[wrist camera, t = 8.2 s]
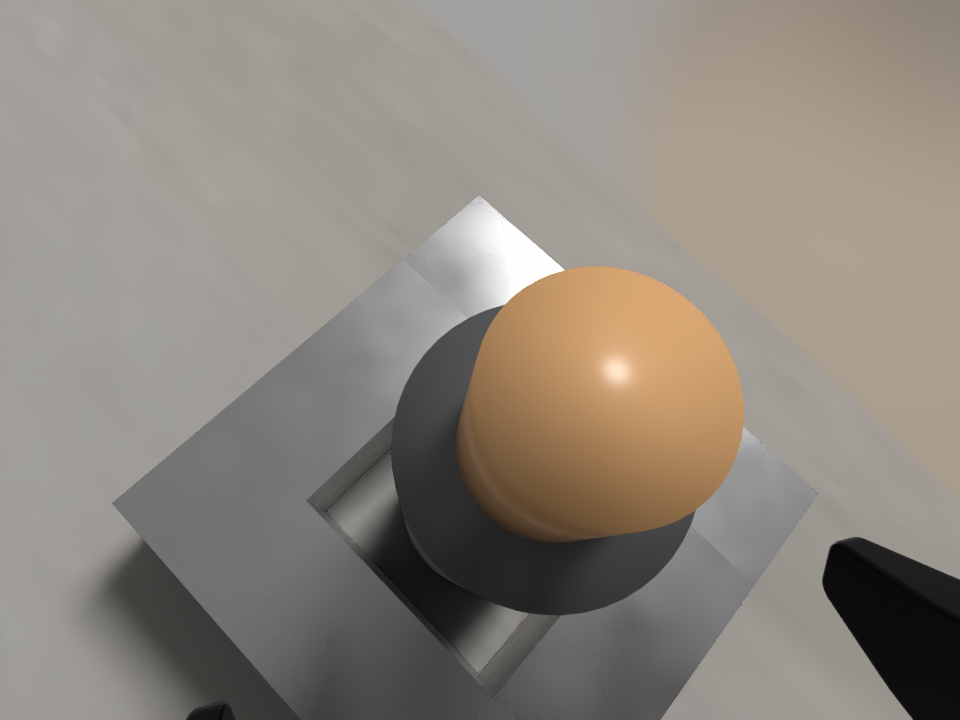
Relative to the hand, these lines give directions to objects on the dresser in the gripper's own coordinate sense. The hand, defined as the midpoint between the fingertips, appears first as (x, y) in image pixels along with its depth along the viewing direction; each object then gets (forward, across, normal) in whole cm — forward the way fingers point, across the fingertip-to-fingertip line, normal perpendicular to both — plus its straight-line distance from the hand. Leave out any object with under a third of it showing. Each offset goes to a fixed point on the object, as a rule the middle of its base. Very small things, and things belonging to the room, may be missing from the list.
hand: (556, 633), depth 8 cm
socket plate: (+8, 0, +4) cm, 9 cm away
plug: (+8, 0, +4) cm, 9 cm away
